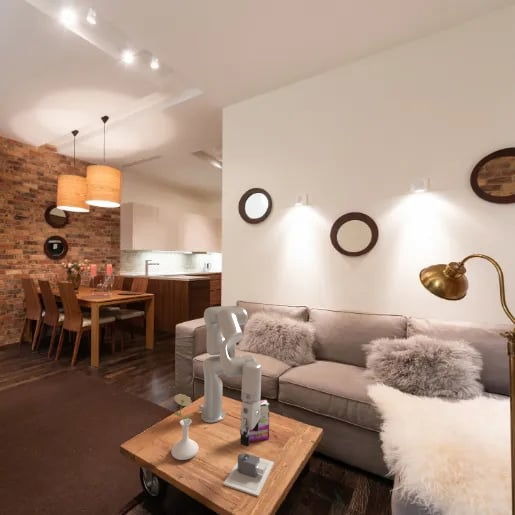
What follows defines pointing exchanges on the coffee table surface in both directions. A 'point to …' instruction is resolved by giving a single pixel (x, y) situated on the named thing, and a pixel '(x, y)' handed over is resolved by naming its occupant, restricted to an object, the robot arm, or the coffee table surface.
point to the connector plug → (250, 465)
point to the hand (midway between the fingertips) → (249, 437)
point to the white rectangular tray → (248, 479)
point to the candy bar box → (261, 424)
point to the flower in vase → (184, 433)
